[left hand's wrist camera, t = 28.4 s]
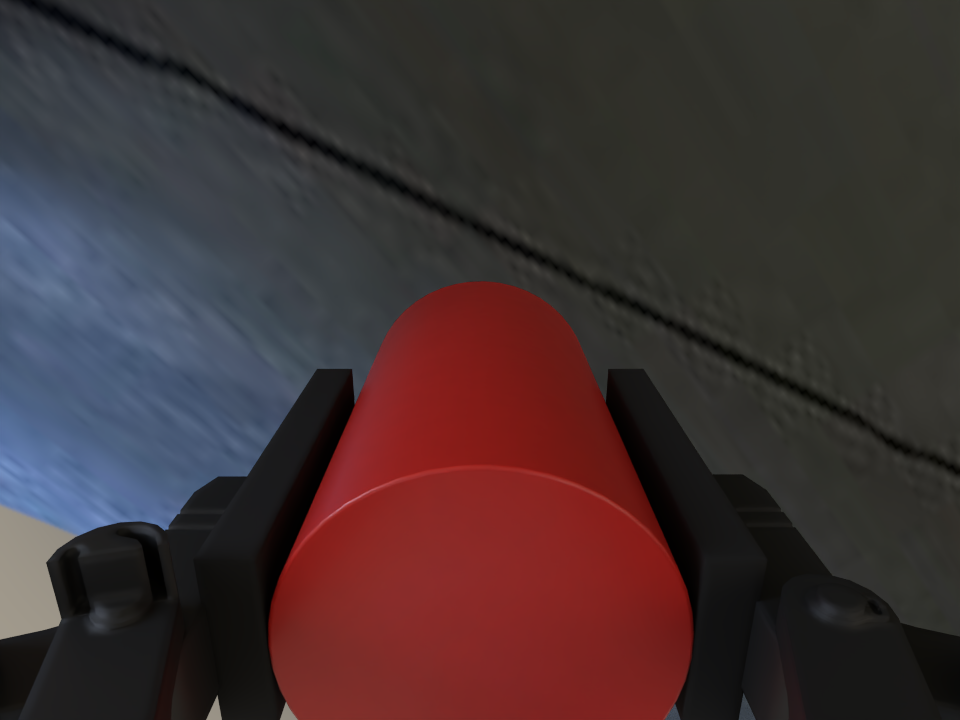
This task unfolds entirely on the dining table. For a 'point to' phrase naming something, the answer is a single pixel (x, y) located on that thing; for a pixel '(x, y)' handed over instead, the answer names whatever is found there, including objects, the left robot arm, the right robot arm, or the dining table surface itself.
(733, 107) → the dining table surface
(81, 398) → the dining table surface
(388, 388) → the tin
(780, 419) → the dining table surface
